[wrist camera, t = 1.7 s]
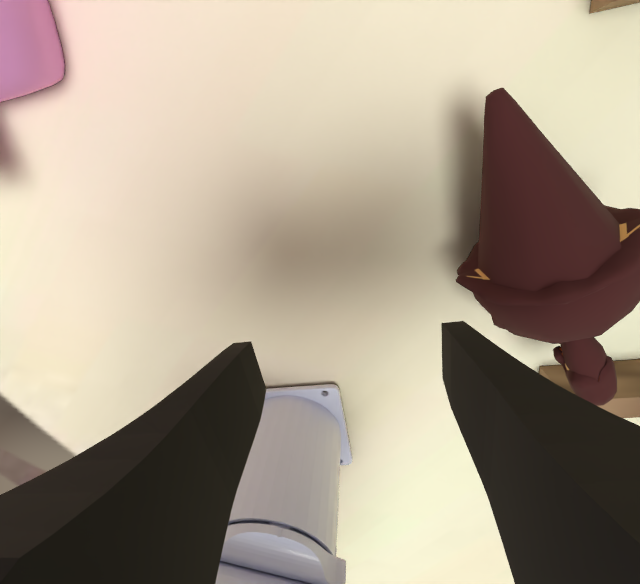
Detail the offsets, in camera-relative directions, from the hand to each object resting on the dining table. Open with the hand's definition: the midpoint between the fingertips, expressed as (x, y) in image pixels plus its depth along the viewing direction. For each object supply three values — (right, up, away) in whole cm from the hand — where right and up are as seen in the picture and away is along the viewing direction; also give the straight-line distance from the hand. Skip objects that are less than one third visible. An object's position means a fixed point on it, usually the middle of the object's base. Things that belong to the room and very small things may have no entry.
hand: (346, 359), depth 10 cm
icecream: (+10, +5, +7) cm, 13 cm away
